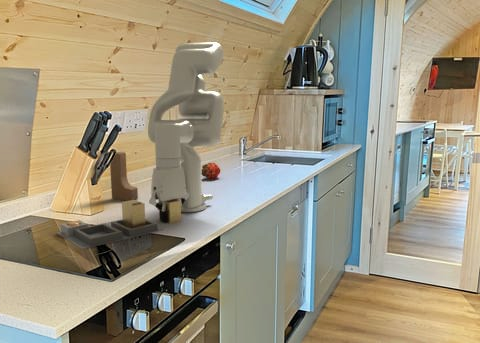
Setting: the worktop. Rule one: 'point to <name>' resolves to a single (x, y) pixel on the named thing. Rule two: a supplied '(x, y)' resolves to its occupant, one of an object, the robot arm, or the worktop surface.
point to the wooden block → (121, 179)
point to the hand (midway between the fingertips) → (170, 220)
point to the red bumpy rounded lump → (210, 170)
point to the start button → (73, 223)
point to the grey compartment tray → (103, 232)
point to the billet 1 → (133, 213)
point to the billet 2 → (173, 211)
